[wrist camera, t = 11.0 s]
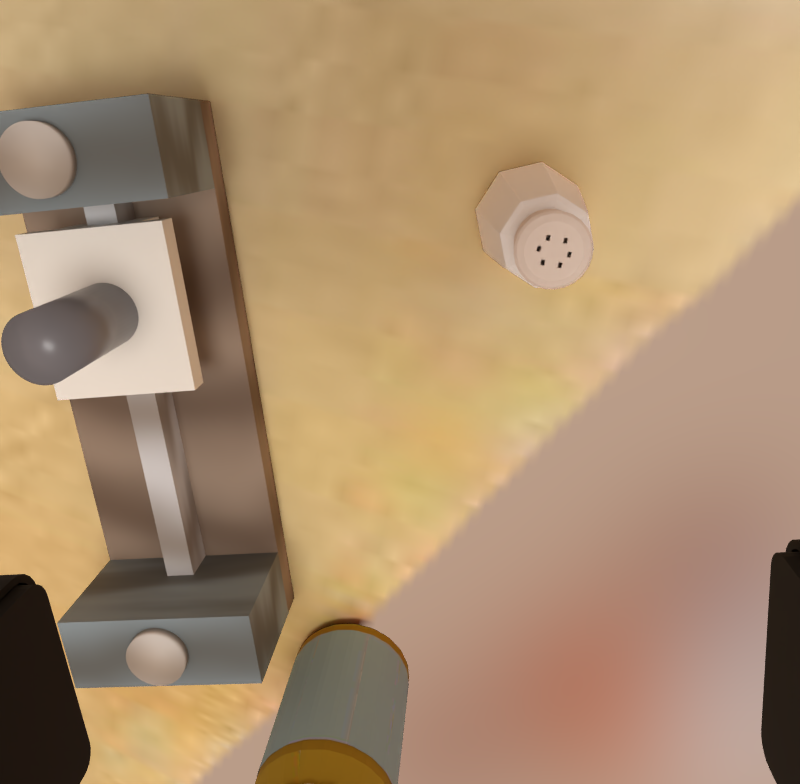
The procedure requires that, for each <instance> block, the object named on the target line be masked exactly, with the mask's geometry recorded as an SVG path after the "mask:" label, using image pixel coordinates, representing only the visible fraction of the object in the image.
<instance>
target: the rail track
mask: <svg viewBox="0 0 800 784" xmlns="http://www.w3.org/2000/svg"><path fill="white" fill-rule="evenodd" d="M21 213H23V217H24V221H25V225H26V229H27V232H34V231H44V230H54V229H61V228H65V227H69V226H74V225H78V224H87V225H88V226H94V225H104V224H114V223H122V222H126V221H130V220H134V219H138V218H147V217H157V216H158V217H159V219H164V218H172V222H173V227H174V233H175V238H176V243H177V248H178V253H179V259H180V264H181V269H182V274H183V279H184V284H185V290H186V295H187V300H188V305H189V310H190V316H191V321H192V326H193V331H194V336H195V341H196V347H197V352H198V357H199V362H200V367H201V373H202V378H203V383H202V384H201V385H200V386H199V387H198V388H197V389H196V390H192V391H178V392H164V393H150V394H137V395H123V396H109V397H95V398H81V399H70V403H71V407H72V411H73V415H74V418H75V422H76V426H77V430H78V434H79V438H80V442H81V446H82V450H83V454H84V458H85V462H86V466H87V470H88V474H89V478H90V482H91V486H92V490H93V494H94V498H95V501H96V505H97V509H98V513H99V517H100V521H101V525H102V529H103V533H104V537H105V541H106V545H107V549H108V553H109V557H110V561H109V562H108V563H107V565H106V566H105V567H104V568H103V569H102V571H101V572H100V573H99V574H98V575H97V576H96V578H95V579H94V580H93V581H92V582H91V584H90V585H89V586H88V587H87V588H86V590H85V591H84V592H83V593H82V594H81V595H80V597H79V598H78V599H77V600H76V601H75V603H74V604H73V605H72V606H71V607H70V609H69V610H68V611H67V612H66V613H65V614H64V616H63V617H62V618H61V619H60V620H59V622H58V623H57V624H58V627H59V631H60V634H61V638H62V641H63V645H64V648H65V652H66V655H67V659H68V662H69V666H70V669H71V672H72V676H73V679H74V683H75V686H76V688H97V687H135V686H173V685H211V684H249V683H262V681H263V679H264V676H265V673H266V671H267V668H268V665H269V663H270V660H271V657H272V655H273V652H274V650H275V647H276V644H277V642H278V639H279V636H280V634H281V631H282V628H283V626H284V623H285V620H286V618H287V615H288V612H289V610H290V607H291V604H292V602H293V599H294V595H293V589H292V583H291V577H290V571H289V565H288V559H287V553H286V547H285V541H284V536H283V530H282V524H281V518H280V512H279V506H278V500H277V494H276V488H275V482H274V477H273V471H272V465H271V459H270V453H269V447H268V441H267V435H266V429H265V423H264V418H263V412H262V406H261V400H260V394H259V388H258V382H257V376H256V370H255V364H254V359H253V353H252V347H251V341H250V335H249V329H248V323H247V317H246V311H245V305H244V300H243V294H242V288H241V282H240V276H239V270H238V264H237V258H236V252H235V246H234V241H233V235H232V229H231V223H230V217H229V211H228V205H227V199H226V193H225V187H224V181H223V176H222V170H221V164H220V158H219V152H218V146H217V140H216V134H215V128H214V122H213V117H212V111H211V105H210V101H203V100H195V99H187V98H179V97H171V96H163V95H155V94H141V95H133V96H124V97H116V98H108V99H99V100H91V101H83V102H74V103H66V104H57V105H49V106H41V107H32V108H24V109H16V110H7V111H0V216H1V215H11V214H21Z"/></svg>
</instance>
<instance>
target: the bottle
mask: <svg viewBox="0 0 800 784" xmlns="http://www.w3.org/2000/svg"><path fill="white" fill-rule="evenodd" d="M408 679H409V674H408V665H407V662H406V660H405V658H404V656H403V654H402V652H401V650H400V649H399V648H398V647H397V646H396V644H394V642H393V641H392V640H391V639H390V638H388V637H387V636H385V635H384V634H382V633H380V632H378V631H377V630H375V629H372V628H369V627H365V626H361V625H357V624H337V625H333V626H329V627H326V628H323V629H321V630H319V631H317V632H316V633H314V634H313V635H311V636H310V637H309V638H308V639H307V640H306V641H305V642H304V644H303V645H302V647H301V648H300V650H299V652H298V654H297V657H296V659H295V662H294V665H293V668H292V671H291V674H290V677H289V680H288V683H287V686H286V689H285V692H284V696H283V699H282V702H281V705H280V708H279V711H278V714H277V717H276V720H275V723H274V726H273V729H272V732H271V735H270V738H269V741H268V744H267V747H266V750H265V753H264V756H263V759H262V762H261V765H260V768H259V771H258V775H257V779H256V782H255V784H398V776H399V767H400V758H401V749H402V740H403V731H404V722H405V712H406V703H407V694H408V685H409V684H408V681H409V680H408Z"/></svg>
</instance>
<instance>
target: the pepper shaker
mask: <svg viewBox="0 0 800 784" xmlns="http://www.w3.org/2000/svg"><path fill="white" fill-rule="evenodd" d="M475 211H476V216H477V221H478V226H479V231H480V236H481V241H482V246H483V251H484V252H485V253H486V254H488V255H489V256H490V257H491V258H493V259H494V260H495V261H496V262H497V263H499V264H500V265H501V266H502V267H504V268H505V269H507V270H509V271H510V272H511V273H513V274H514V275H516V276H518V277H519V278H521V279H522V280H524V281H525V282H527V283H528V284H530V285H531V286H533V287H535V288H538V287H540V288H543V289H559V288H564V287H566V286H568V285H570V284H572V283H574V282H576V281H577V280H578V279H579V278H580V277H581V276H582V275H583V274H584V273H585V271H586V270H587V268H588V267H589V264H590V262H591V259H592V255H593V250H594V249H593V240H592V233H591V227H590V220H589V215H588V210H587V207H586V205H585V202H584V200H583V197H582V195H581V192H580V190H579V187H578V185H576V184H575V183H573V182H572V181H570V180H569V179H567V178H566V177H564V176H563V175H561V174H560V173H558V172H557V171H555V170H554V169H552V168H551V167H549V166H548V165H546V164H545V163H543V162H539V163H535V164H531V165H526V166H522V167H518V168H514V169H510V170H505V171H501V172H499V173H498V174H497V176H496V178H495V179H494V181H493V182H492V184H491V185H490V187H489V188H488V190H487V192H486V193H485V195H484V196H483V198H482V199H481V201H480V203H479V204H478V206H477V207H476V209H475Z"/></svg>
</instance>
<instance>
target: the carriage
mask: <svg viewBox="0 0 800 784" xmlns="http://www.w3.org/2000/svg"><path fill="white" fill-rule="evenodd" d="M15 237H16V241H17V245H18V248H19V252H20V256H21V260H22V264H23V268H24V272H25V276H26V279H27V283H28V287H29V291H30V295H31V299H32V303H33V307H34V308H33V309H30V310H28V311H25V312H23V313H20V314H18V315H16V316H14V317H13V318H12V319H11V320H10V321H9V322H8V323H7V324H6V326H5V328H4V330H3V333H2V341H1V343H2V350H3V354H4V357H5V359H6V361H7V362H8V364H9V366H10V367H11V368H12V369H13V371H14V372H15V373H16V374H18V375H19V376H20V377H22V378H23V379H25V380H27V381H29V382H31V383H34V384H38V385H52V384H54V388H55V392H56V396H57V399H58V400H68V399H81V398H95V397H109V396H123V395H137V394H150V393H164V392H178V391H192V390H196V389H197V388H198V387H199V386H200V385H201V384H202V383H203V378H202V373H201V367H200V362H199V357H198V352H197V347H196V341H195V336H194V331H193V326H192V321H191V316H190V310H189V305H188V300H187V295H186V290H185V284H184V279H183V274H182V269H181V264H180V259H179V253H178V248H177V243H176V238H175V233H174V227H173V222H172V218H164V219H159V217H158V216H157V217H147V218H138V219H134V220H130V221H126V222H122V223H114V224H104V225H94V226H88V225H87V224H78V225H74V226H69V227H65V228H61V229H54V230H44V231H34V232H27V233H23V234H18V235H15Z"/></svg>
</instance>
